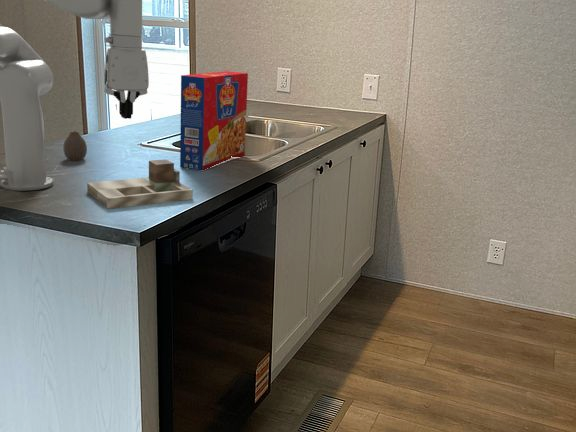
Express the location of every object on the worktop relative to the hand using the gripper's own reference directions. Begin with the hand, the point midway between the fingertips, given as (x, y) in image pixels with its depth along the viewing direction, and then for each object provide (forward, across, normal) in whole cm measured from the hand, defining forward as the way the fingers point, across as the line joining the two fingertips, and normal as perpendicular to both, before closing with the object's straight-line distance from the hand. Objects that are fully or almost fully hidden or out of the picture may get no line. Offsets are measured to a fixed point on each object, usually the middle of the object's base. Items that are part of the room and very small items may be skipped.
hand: (126, 117), depth 161 cm
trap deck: (+19, +2, -6) cm, 20 cm away
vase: (+20, -2, +40) cm, 45 cm away
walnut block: (+17, +9, -2) cm, 19 cm away
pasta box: (+19, +38, +25) cm, 50 cm away
